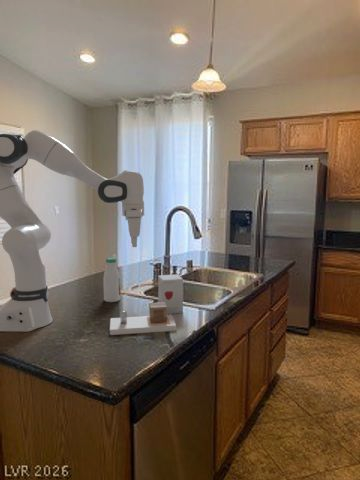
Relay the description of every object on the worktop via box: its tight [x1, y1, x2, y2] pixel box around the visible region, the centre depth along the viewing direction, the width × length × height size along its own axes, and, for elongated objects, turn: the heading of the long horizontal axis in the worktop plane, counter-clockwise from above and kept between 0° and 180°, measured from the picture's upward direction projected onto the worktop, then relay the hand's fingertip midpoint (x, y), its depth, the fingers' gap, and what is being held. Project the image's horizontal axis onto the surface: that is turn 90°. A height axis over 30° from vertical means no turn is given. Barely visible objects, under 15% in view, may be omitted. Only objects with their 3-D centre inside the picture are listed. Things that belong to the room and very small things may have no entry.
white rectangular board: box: [109, 314, 177, 336], centre depth 140 cm, size 24×12×2 cm, turn 99°
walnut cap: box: [148, 302, 168, 323], centre depth 140 cm, size 6×6×6 cm
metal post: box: [119, 309, 128, 324], centre depth 138 cm, size 2×2×4 cm
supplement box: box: [157, 274, 184, 315], centre depth 157 cm, size 9×9×15 cm
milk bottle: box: [102, 257, 122, 303], centre depth 173 cm, size 8×8×20 cm
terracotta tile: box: [147, 317, 170, 325], centre depth 141 cm, size 8×8×1 cm
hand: (134, 245), depth 151 cm, fingers open, 8 cm apart
